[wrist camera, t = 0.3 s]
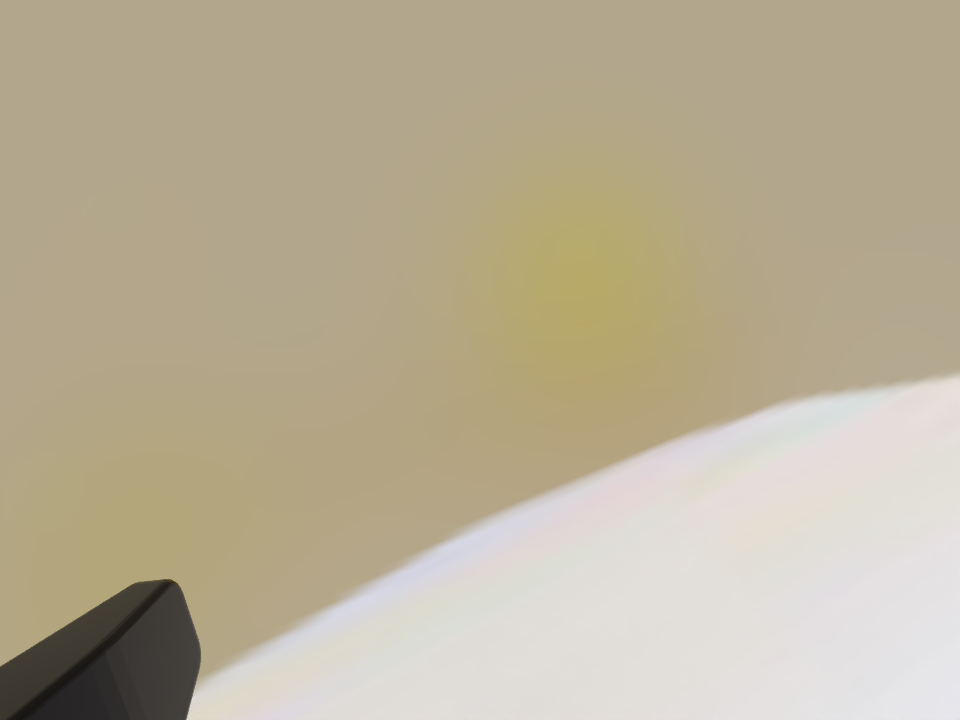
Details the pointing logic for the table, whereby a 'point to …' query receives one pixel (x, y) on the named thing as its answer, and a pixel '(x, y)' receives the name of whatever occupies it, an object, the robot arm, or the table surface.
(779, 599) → the table surface
